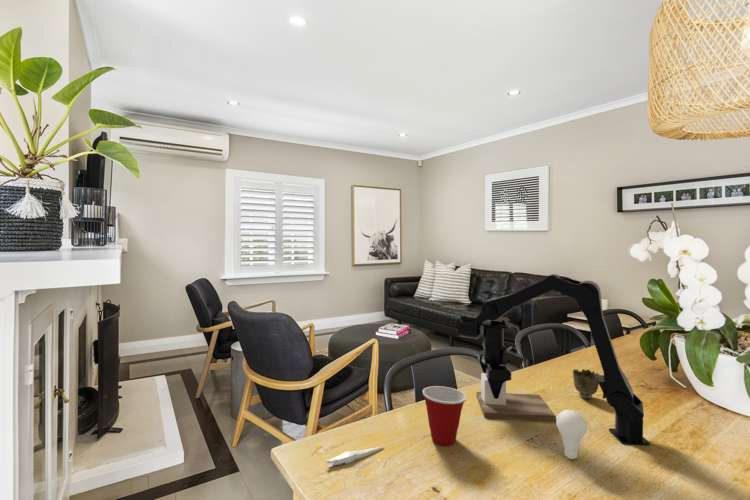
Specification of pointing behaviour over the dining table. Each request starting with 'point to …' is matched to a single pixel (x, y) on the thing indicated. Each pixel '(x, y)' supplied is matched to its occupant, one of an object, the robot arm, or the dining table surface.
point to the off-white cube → (487, 392)
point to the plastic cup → (443, 413)
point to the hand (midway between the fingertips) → (493, 392)
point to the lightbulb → (571, 431)
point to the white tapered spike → (351, 456)
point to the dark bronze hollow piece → (586, 383)
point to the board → (518, 408)
